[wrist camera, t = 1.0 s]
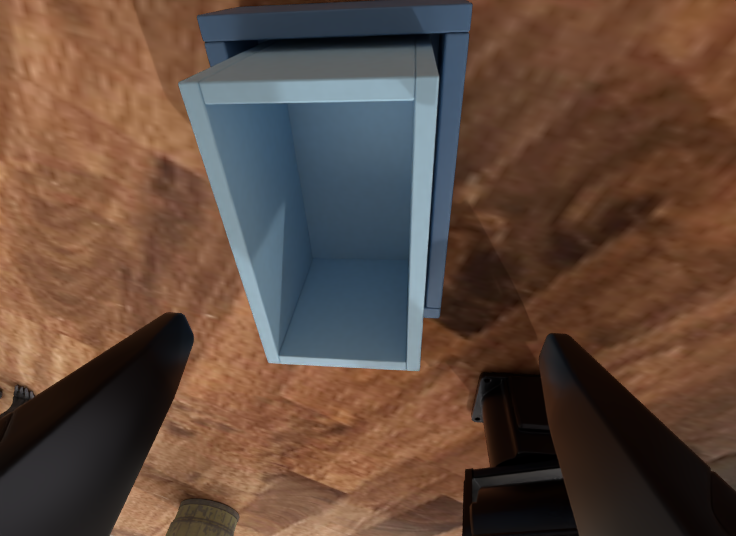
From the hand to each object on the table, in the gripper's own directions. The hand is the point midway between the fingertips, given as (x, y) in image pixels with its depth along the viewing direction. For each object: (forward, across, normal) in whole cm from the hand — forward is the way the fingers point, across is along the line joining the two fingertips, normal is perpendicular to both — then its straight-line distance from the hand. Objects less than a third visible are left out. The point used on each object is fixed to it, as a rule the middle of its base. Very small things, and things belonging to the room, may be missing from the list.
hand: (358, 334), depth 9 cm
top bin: (+12, +2, +1) cm, 12 cm away
